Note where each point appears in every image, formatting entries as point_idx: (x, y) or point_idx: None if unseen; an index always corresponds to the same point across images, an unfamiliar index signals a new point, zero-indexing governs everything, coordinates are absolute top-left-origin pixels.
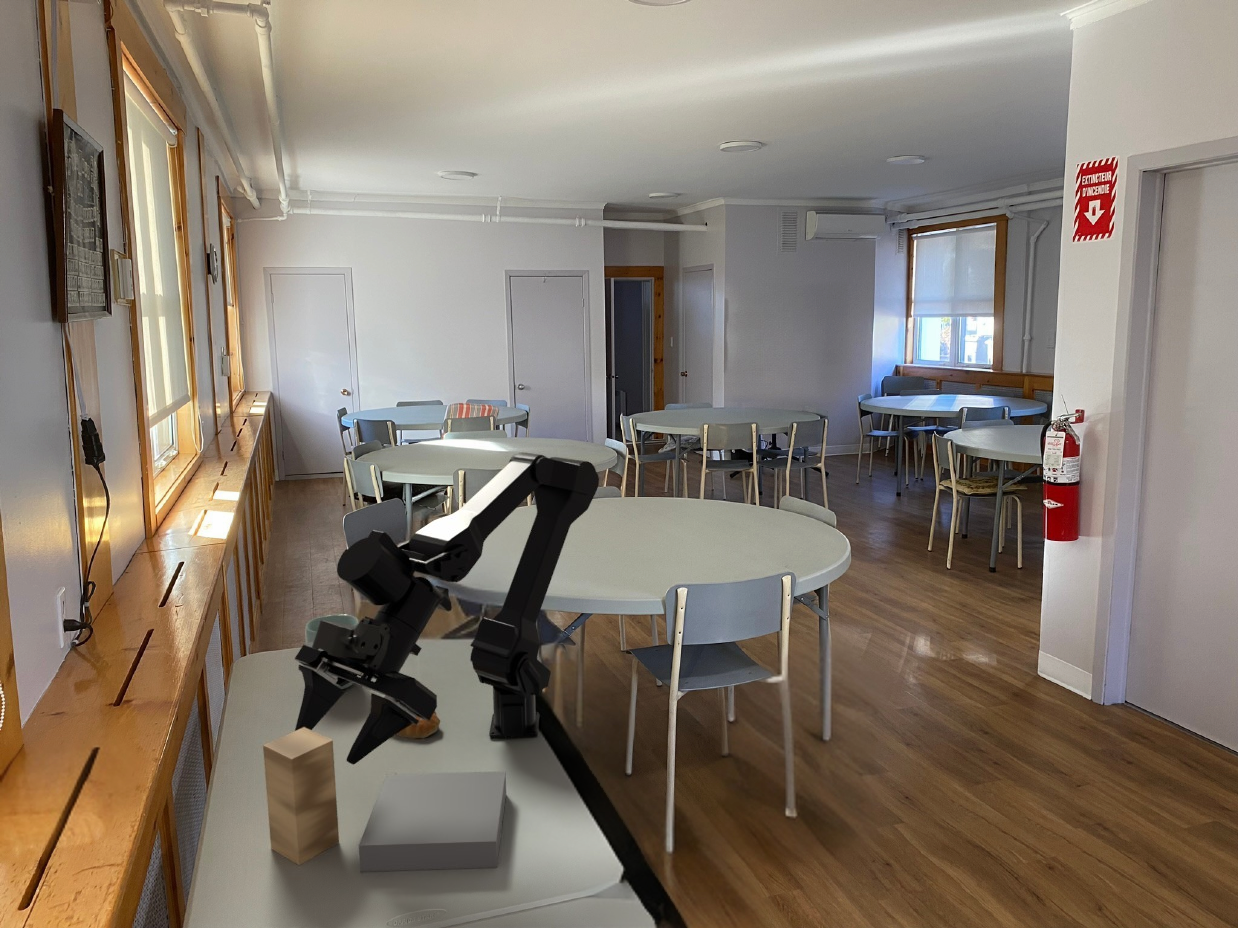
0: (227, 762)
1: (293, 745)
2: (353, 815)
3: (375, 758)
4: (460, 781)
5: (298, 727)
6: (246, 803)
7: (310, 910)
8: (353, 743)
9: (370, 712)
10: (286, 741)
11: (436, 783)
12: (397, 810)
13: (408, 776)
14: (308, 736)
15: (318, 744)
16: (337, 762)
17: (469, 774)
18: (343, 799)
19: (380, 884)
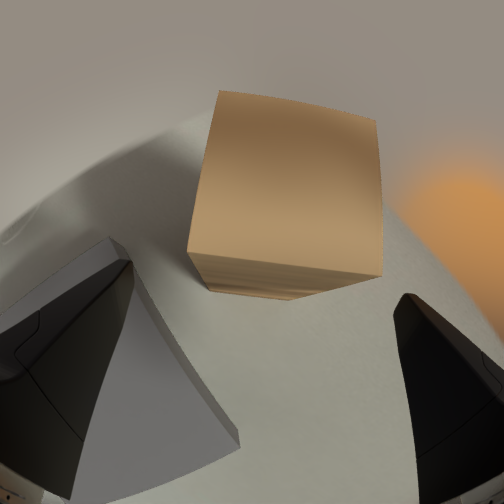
0: (496, 339)
1: (293, 151)
2: (249, 362)
3: (344, 487)
4: (101, 475)
5: (420, 306)
6: (418, 289)
7: (134, 158)
8: (105, 286)
9: (13, 371)
10: (339, 161)
11: (129, 459)
12: (120, 358)
13: (194, 460)
14: (304, 225)
15: (212, 196)
16: (389, 445)
17: (106, 495)
18: (303, 387)
19: (83, 240)
